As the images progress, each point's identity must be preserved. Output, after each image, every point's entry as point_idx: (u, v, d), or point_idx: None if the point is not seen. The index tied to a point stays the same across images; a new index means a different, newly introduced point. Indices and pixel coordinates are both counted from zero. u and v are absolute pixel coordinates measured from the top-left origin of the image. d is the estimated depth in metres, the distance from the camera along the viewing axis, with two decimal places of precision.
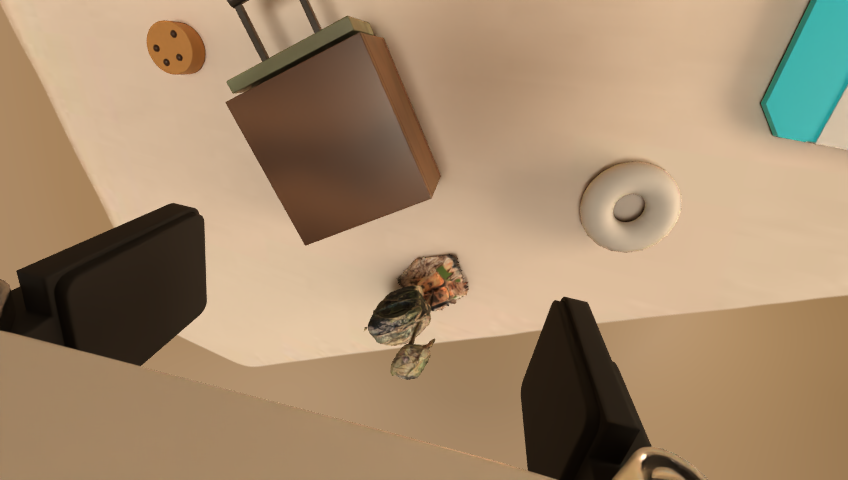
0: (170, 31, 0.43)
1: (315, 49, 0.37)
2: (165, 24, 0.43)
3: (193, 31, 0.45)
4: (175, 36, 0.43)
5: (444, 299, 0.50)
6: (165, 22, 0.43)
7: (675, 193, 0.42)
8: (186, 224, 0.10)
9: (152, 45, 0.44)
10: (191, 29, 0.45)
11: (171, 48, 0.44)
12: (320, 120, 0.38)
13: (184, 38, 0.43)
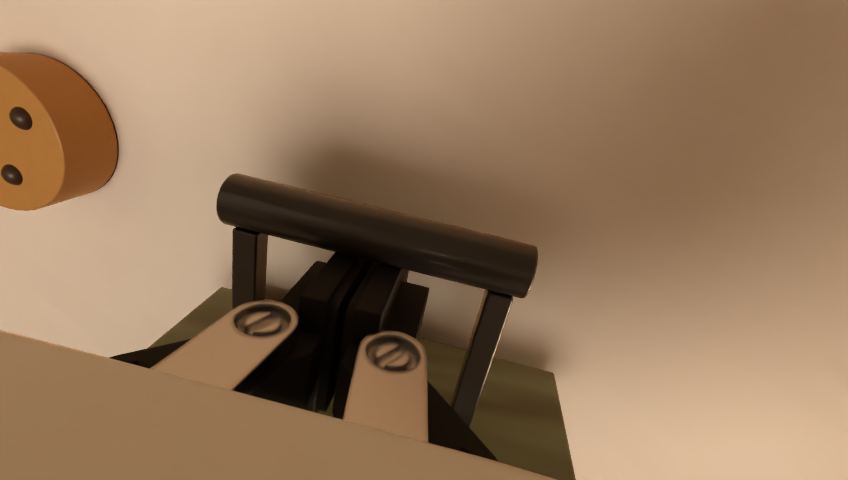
0: (13, 108, 0.13)
1: None
2: (6, 81, 0.13)
3: (101, 124, 0.15)
4: (26, 128, 0.14)
5: None
6: (10, 76, 0.13)
7: None
8: None
9: None
10: (97, 117, 0.15)
11: None
12: None
13: (53, 150, 0.14)
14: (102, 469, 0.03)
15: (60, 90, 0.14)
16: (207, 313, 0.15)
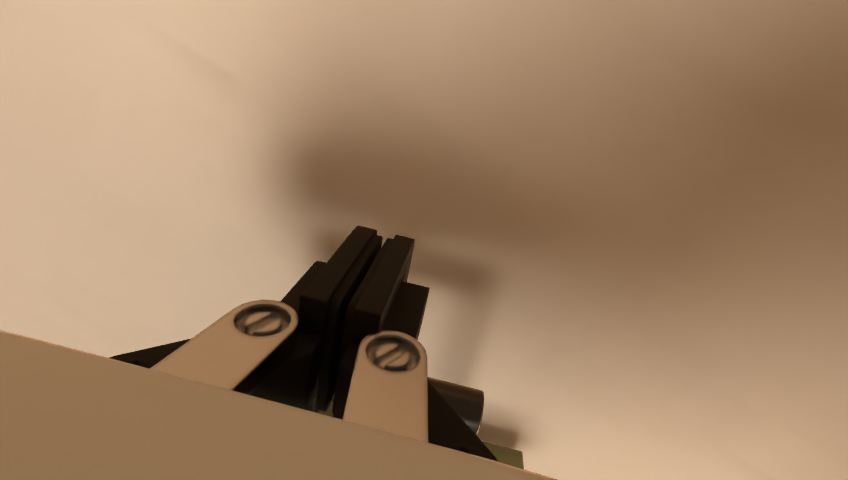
0: None
1: None
2: None
3: None
4: None
5: None
6: None
7: None
8: (377, 246, 0.11)
9: None
10: None
11: None
12: None
13: None
14: (102, 469, 0.03)
15: None
16: None
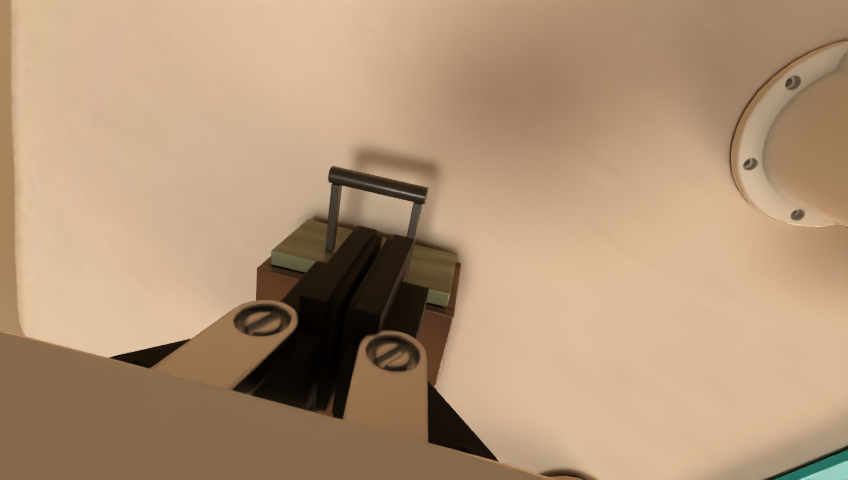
0: None
1: None
2: None
3: None
4: None
5: None
6: None
7: None
8: (377, 246, 0.11)
9: None
10: None
11: None
12: None
13: None
14: (102, 469, 0.03)
15: None
16: (306, 227, 0.35)
